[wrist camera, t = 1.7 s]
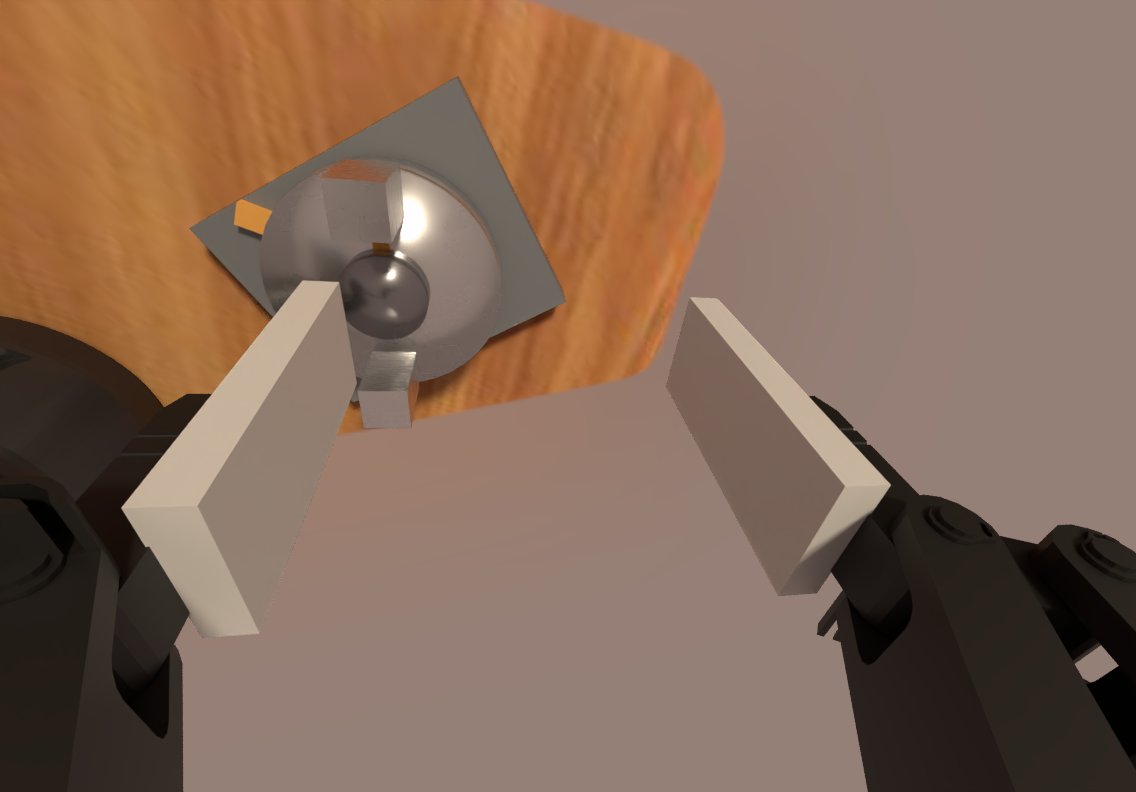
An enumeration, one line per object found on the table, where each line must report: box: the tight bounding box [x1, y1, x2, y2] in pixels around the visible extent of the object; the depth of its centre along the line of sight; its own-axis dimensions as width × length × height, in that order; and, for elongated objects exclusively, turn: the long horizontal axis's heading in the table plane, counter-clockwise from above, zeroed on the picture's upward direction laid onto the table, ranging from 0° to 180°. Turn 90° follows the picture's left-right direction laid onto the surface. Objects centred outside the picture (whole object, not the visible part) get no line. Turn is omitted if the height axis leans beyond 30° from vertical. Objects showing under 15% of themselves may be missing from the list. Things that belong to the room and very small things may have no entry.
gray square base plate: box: [189, 77, 566, 403], centre depth 28 cm, size 16×13×3 cm
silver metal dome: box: [260, 155, 502, 428], centre depth 25 cm, size 12×12×7 cm
